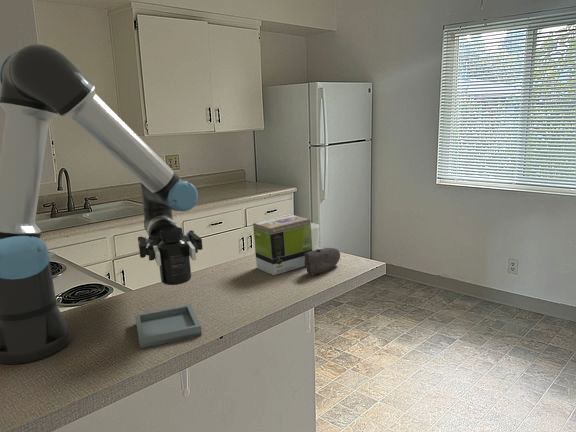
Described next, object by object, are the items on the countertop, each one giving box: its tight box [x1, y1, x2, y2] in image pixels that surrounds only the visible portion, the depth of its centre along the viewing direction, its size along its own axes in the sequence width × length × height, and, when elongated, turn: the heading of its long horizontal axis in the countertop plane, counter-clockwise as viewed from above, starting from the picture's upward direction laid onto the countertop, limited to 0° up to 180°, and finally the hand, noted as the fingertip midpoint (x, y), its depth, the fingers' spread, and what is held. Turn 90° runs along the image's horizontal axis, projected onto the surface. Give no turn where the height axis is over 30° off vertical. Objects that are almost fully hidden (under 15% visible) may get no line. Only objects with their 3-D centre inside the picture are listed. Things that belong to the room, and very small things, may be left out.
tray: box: [134, 304, 203, 349], centre depth 107 cm, size 13×13×2 cm
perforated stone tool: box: [304, 247, 341, 276], centre depth 140 cm, size 15×5×7 cm, turn 132°
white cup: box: [310, 222, 320, 251], centre depth 155 cm, size 8×8×10 cm
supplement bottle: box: [157, 226, 192, 286], centre depth 106 cm, size 7×7×12 cm
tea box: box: [252, 214, 312, 276], centre depth 145 cm, size 15×10×15 cm, turn 124°
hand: (176, 256), depth 101 cm, fingers closed on supplement bottle, 7 cm apart
